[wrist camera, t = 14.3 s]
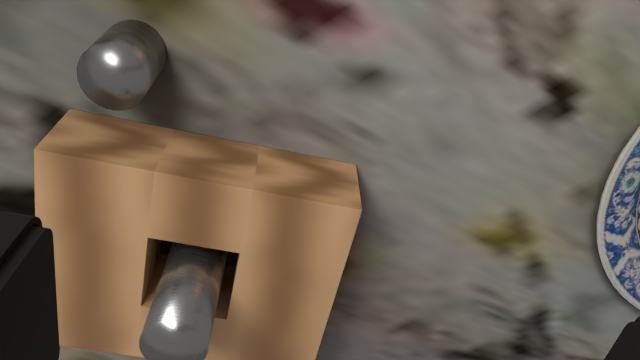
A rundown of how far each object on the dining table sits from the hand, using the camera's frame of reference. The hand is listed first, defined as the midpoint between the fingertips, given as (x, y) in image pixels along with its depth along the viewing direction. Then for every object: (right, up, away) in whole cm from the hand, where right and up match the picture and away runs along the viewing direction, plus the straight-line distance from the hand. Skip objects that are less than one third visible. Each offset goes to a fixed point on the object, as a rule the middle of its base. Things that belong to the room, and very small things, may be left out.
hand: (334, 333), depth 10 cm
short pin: (-12, +11, +28) cm, 32 cm away
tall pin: (-9, -1, +35) cm, 36 cm away
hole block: (-9, -1, +35) cm, 36 cm away
